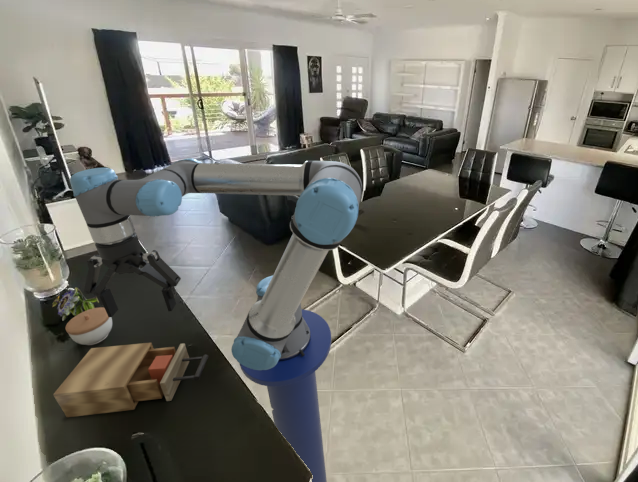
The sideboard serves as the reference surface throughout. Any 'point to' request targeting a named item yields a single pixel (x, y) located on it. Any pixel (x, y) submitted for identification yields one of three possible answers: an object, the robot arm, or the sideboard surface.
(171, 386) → the drawer
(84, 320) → the trinket box
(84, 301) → the passion flower
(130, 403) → the cabinet
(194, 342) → the sideboard surface
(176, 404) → the sideboard surface
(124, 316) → the sideboard surface
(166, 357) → the block
